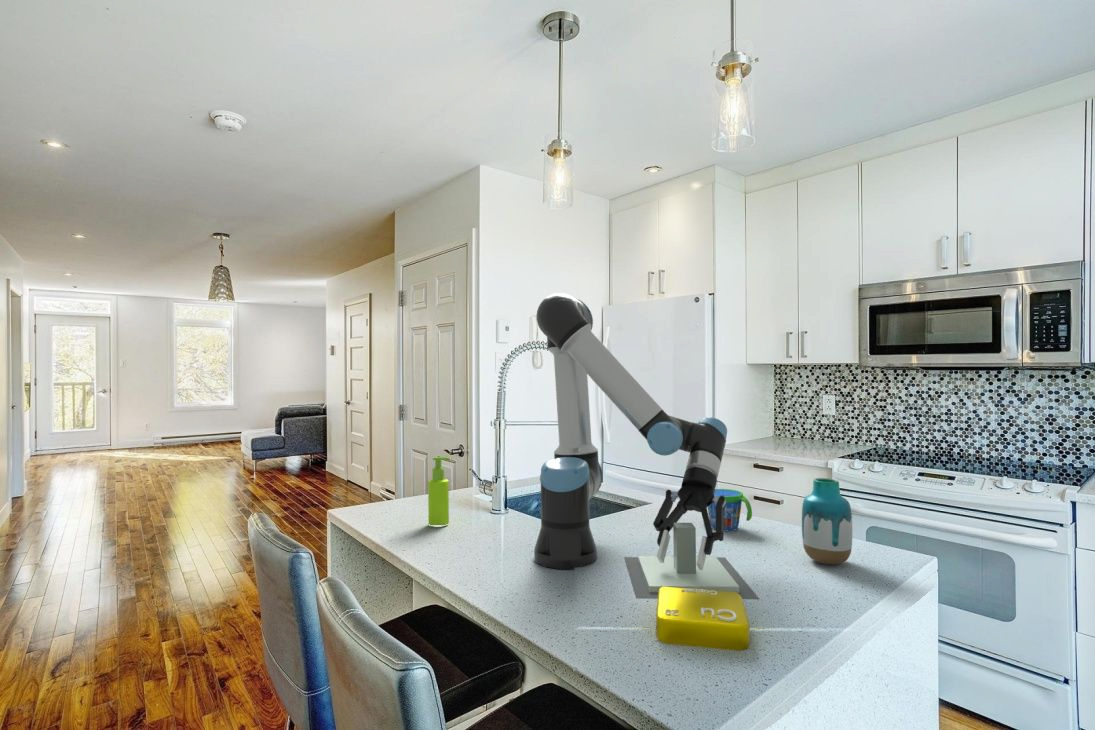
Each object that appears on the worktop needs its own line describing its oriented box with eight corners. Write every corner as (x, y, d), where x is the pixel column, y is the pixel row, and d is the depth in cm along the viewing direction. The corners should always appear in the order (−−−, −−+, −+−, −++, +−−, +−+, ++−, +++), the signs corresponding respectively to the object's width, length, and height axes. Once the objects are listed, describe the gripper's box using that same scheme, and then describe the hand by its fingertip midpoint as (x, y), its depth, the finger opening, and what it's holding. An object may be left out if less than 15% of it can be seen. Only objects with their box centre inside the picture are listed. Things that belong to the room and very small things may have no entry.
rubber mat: (636, 600, 110) (636, 598, 110) (623, 558, 134) (623, 557, 134) (759, 600, 109) (759, 598, 109) (725, 559, 133) (725, 557, 133)
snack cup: (690, 525, 162) (689, 490, 162) (711, 519, 168) (711, 485, 169) (738, 538, 150) (738, 500, 150) (759, 530, 156) (759, 494, 156)
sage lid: (649, 592, 113) (648, 537, 113) (638, 561, 131) (637, 514, 131) (739, 592, 112) (738, 537, 113) (715, 561, 130) (715, 514, 131)
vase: (851, 558, 133) (850, 477, 133) (854, 573, 123) (853, 486, 124) (802, 552, 138) (801, 474, 138) (801, 566, 128) (800, 482, 128)
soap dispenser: (450, 527, 162) (449, 458, 162) (426, 527, 162) (426, 458, 162) (454, 522, 168) (453, 455, 168) (431, 522, 168) (430, 455, 168)
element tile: (740, 614, 104) (740, 588, 104) (751, 654, 90) (750, 624, 90) (659, 607, 108) (658, 582, 108) (656, 644, 93) (655, 616, 93)
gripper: (749, 488, 129) (732, 581, 116) (663, 480, 140) (638, 563, 127) (743, 469, 125) (725, 563, 111) (655, 461, 136) (629, 546, 122)
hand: (679, 563), depth 119 cm, fingers open, 8 cm apart
